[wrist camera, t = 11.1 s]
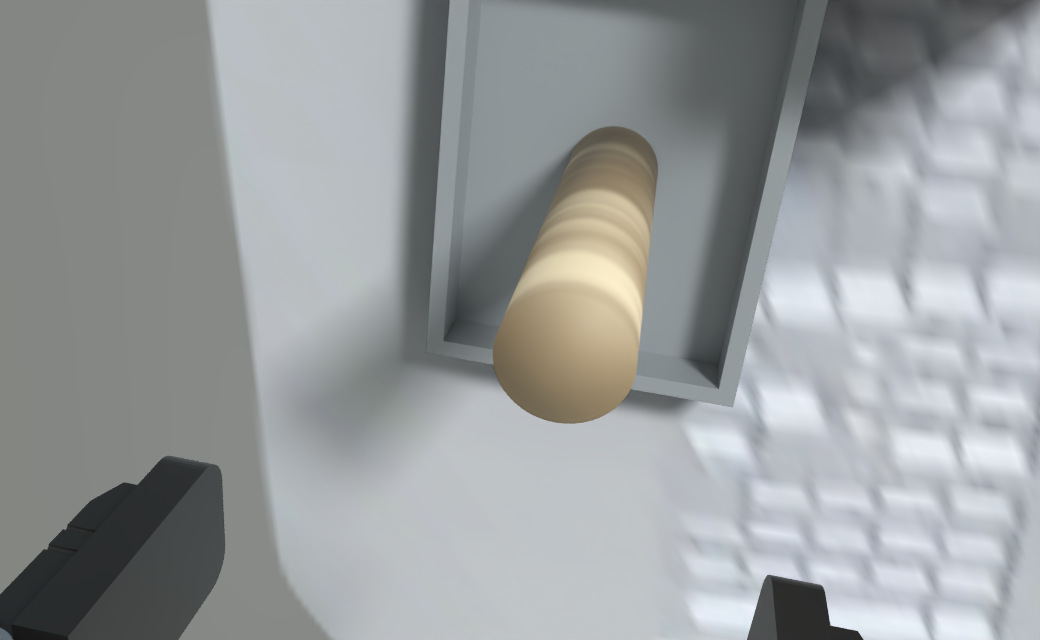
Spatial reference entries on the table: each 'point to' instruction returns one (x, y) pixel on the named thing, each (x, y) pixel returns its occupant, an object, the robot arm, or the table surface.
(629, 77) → the grey tray
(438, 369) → the table surface
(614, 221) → the birch dowel
